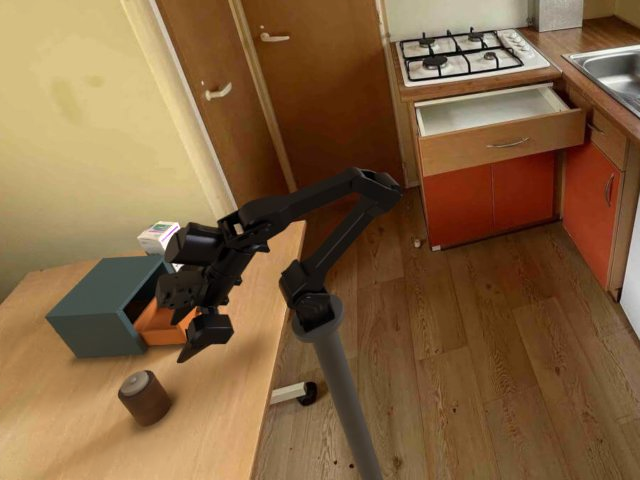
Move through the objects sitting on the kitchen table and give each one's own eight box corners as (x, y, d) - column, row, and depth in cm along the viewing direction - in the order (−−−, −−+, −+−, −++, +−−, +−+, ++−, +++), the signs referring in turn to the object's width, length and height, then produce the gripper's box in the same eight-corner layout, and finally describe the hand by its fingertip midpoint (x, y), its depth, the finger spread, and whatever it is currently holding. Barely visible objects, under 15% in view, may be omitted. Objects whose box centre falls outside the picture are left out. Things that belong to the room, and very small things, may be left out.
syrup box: (200, 263, 107) (179, 220, 100) (181, 283, 102) (158, 239, 95) (179, 261, 107) (157, 219, 101) (160, 281, 102) (135, 237, 96)
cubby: (186, 294, 99) (164, 254, 93) (144, 354, 86) (116, 312, 80) (128, 298, 98) (102, 257, 92) (77, 358, 86) (44, 316, 80)
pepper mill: (172, 390, 80) (151, 358, 76) (171, 415, 77) (148, 383, 72) (139, 406, 78) (115, 374, 73) (136, 433, 74) (110, 401, 69)
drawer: (223, 298, 98) (212, 275, 94) (195, 342, 88) (182, 319, 85) (166, 301, 97) (153, 278, 93) (132, 346, 88) (116, 323, 84)
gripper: (171, 230, 77) (119, 306, 76) (186, 298, 65) (124, 389, 63) (233, 240, 85) (187, 308, 84) (256, 301, 73) (203, 382, 72)
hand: (176, 343), depth 76 cm, fingers open, 9 cm apart
